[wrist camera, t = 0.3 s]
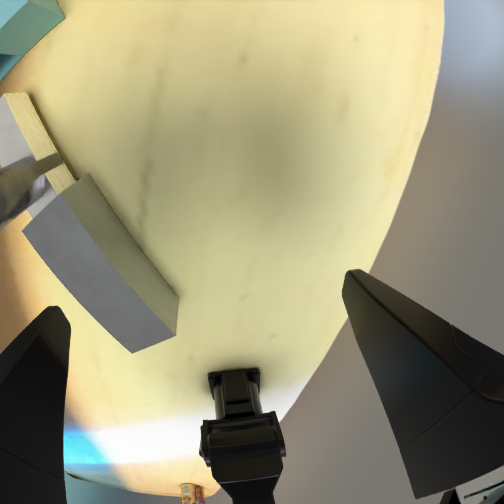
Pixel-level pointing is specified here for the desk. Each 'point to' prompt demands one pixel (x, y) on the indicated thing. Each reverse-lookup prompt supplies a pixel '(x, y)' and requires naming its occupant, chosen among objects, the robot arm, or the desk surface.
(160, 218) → the desk surface
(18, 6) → the socket block
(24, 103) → the grey piece
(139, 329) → the grey long rectangular block
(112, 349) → the desk surface
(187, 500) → the candy box
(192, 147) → the desk surface
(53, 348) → the robot arm
